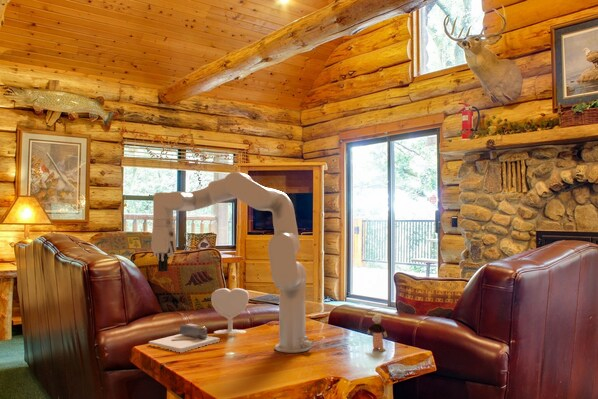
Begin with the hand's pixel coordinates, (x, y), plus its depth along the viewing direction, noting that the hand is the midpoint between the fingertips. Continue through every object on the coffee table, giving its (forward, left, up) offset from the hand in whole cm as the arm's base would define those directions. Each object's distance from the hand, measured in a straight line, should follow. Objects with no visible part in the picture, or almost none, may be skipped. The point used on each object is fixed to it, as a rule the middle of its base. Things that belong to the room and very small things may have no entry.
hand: (162, 271), depth 191 cm
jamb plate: (-10, -3, -27) cm, 29 cm away
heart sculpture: (-10, -27, -27) cm, 40 cm away
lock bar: (-10, -7, -25) cm, 28 cm away
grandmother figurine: (-74, -36, -27) cm, 87 cm away
